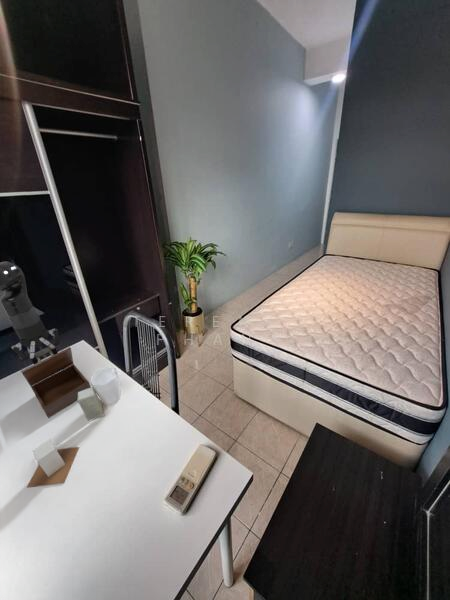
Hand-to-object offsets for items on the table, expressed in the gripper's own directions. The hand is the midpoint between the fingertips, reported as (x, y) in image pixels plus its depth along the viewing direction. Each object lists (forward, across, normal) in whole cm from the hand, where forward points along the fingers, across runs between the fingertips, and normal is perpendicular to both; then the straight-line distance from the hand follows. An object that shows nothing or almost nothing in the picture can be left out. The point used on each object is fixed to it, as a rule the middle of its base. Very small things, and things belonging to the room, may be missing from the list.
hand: (46, 359), depth 90 cm
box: (+17, -4, +21) cm, 27 cm away
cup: (+17, -11, +19) cm, 28 cm away
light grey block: (+17, +12, +29) cm, 35 cm away
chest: (+17, 0, +2) cm, 17 cm away
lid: (+5, 0, -1) cm, 5 cm away
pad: (+17, +12, +29) cm, 36 cm away
